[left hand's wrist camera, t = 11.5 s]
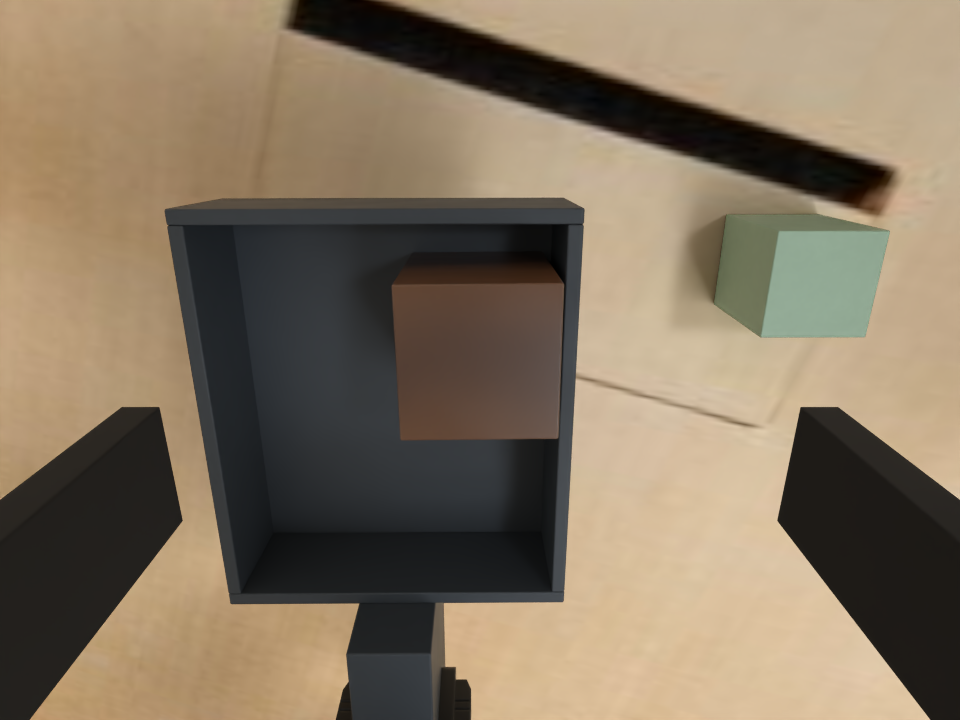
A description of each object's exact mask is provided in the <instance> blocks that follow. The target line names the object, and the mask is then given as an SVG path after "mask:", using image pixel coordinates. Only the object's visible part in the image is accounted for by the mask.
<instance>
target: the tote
mask: <svg viewBox="0 0 960 720" xmlns="http://www.w3.org/2000/svg"><path fill="white" fill-rule="evenodd" d="M165 216H166V222H167V225H169V226H168V234H169V240H170V245H171V251H172V257H173V263H174V269H175V275H176V281H177V287H178V293H179V299H180V305H181V311H182V317H183V323H184V329H185V335H186V341H187V347H188V353H189V359H190V365H191V371H192V376H193V382H194V388H195V394H196V400H197V406H198V412H199V418H200V424H201V430H202V436H203V442H204V448H205V454H206V460H207V466H208V472H209V478H210V484H211V490H212V496H213V502H214V508H215V513H216V519H217V525H218V531H219V537H220V543H221V549H222V555H223V561H224V567H225V573H226V579H227V585H228V591H229V593H230V594H229V597H230V603H231V604H332V603H359V607H358V611H357V615H356V619H355V623H354V627H353V630H352V634H351V638H350V642H349V646H348V650H347V654H346V657H347V668H348V678H349V689H350V699H351V710H352V720H438V717H439V702H440V686H441V671H442V667H445V638H444V603H496V602H563V601H564V585H565V566H566V547H567V529H568V510H569V491H570V472H571V453H572V435H573V416H574V397H575V378H576V359H577V341H578V322H579V303H580V284H581V266H582V247H583V228H584V226H583V223H584V208H582V207H580V206H578V205H576V204H574V203H572V202H571V201H569V200H567V199H565V198H274V199H218V200H212V201H207V202H201V203H196V204H191V205H185V206H180V207H174V208H169V209H165ZM511 251H542V252H543V253H544V255H545V256H546V258H547V259H548V261H549V262H550V264H551V265H552V267H553V268H554V270H555V271H556V273H557V274H558V276H559V277H560V279H561V280H562V282H563V283H564V300H563V327H562V353H561V380H560V407H559V433H558V438H557V439H490V440H401V439H400V428H399V410H398V393H397V375H396V358H395V341H394V323H393V306H392V288H391V286H392V284H393V283H394V281H395V279H396V278H397V276H398V275H399V273H400V271H401V270H402V268H403V267H404V265H405V264H406V262H407V260H408V259H409V257H410V256H411V254H412V253H413V252H511Z"/></svg>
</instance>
